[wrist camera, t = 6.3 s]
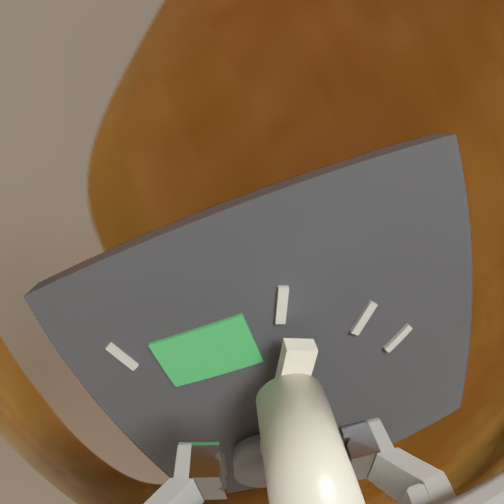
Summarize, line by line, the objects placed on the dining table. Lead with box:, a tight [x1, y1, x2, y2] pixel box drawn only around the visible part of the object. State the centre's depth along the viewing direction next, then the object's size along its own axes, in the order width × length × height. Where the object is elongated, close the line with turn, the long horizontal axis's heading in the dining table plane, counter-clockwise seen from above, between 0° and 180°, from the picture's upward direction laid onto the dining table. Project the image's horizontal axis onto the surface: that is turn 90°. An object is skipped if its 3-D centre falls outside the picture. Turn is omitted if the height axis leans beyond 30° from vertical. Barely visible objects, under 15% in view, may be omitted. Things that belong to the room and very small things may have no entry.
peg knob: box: [233, 338, 365, 504], centre depth 10 cm, size 10×4×7 cm, turn 173°
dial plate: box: [24, 133, 472, 494], centre depth 14 cm, size 20×18×2 cm
